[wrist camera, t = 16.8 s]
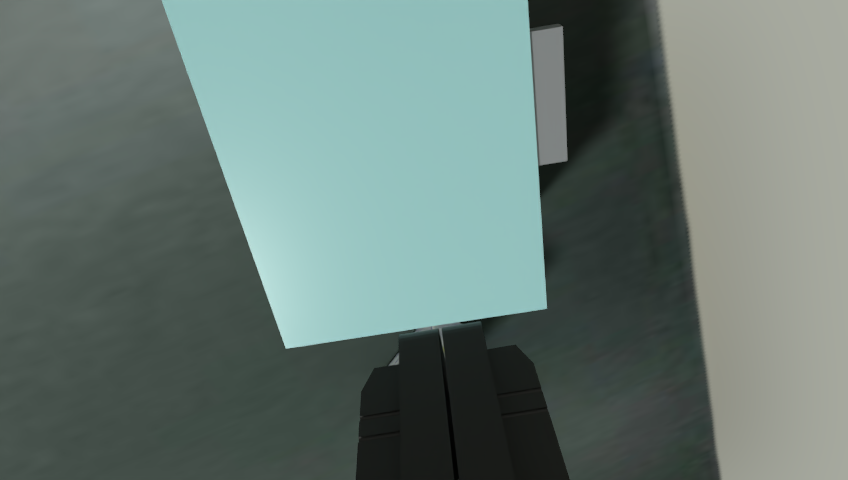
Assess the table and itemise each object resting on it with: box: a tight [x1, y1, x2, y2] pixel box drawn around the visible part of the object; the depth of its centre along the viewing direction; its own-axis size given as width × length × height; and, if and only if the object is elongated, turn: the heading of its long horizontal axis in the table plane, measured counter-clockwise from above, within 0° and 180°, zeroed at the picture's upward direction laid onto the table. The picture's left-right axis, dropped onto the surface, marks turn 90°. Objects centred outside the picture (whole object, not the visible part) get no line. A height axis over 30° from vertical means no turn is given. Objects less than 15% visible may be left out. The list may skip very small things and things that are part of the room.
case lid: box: [162, 0, 567, 349], centre depth 26 cm, size 22×16×1 cm
